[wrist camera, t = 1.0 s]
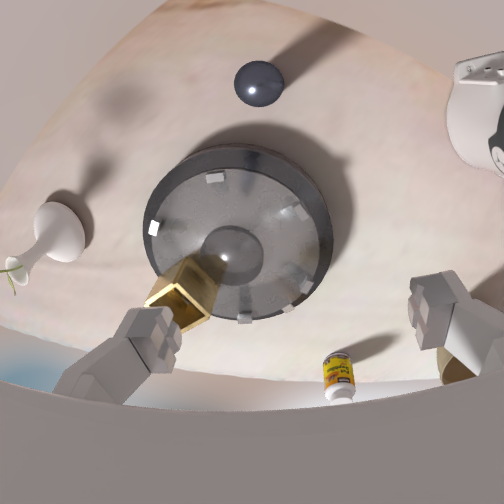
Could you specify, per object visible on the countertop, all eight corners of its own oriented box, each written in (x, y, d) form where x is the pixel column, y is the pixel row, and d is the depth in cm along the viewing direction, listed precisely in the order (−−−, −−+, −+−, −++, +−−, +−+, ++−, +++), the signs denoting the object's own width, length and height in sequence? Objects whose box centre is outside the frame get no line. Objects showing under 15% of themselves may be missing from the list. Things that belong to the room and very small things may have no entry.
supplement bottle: (350, 349, 56) (357, 392, 47) (351, 367, 59) (357, 409, 50) (321, 353, 57) (324, 397, 48) (324, 371, 60) (326, 413, 51)
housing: (253, 103, 37) (249, 106, 33) (361, 252, 46) (368, 268, 42) (121, 217, 47) (108, 230, 43) (229, 326, 56) (225, 344, 52)
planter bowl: (417, 355, 56) (430, 397, 47) (434, 292, 48) (456, 336, 39) (480, 343, 54) (497, 380, 44) (502, 283, 46) (529, 320, 36)
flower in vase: (101, 239, 49) (12, 344, 28) (66, 265, 53) (-11, 358, 31) (57, 177, 44) (-55, 256, 22) (27, 210, 48) (-66, 288, 26)
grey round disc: (246, 130, 35) (238, 141, 28) (348, 265, 42) (358, 299, 36) (123, 234, 43) (99, 262, 37) (223, 333, 51) (215, 368, 44)
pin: (270, 62, 34) (262, 51, 22) (290, 86, 35) (293, 88, 23) (244, 80, 35) (224, 80, 23) (264, 105, 37) (254, 116, 25)
